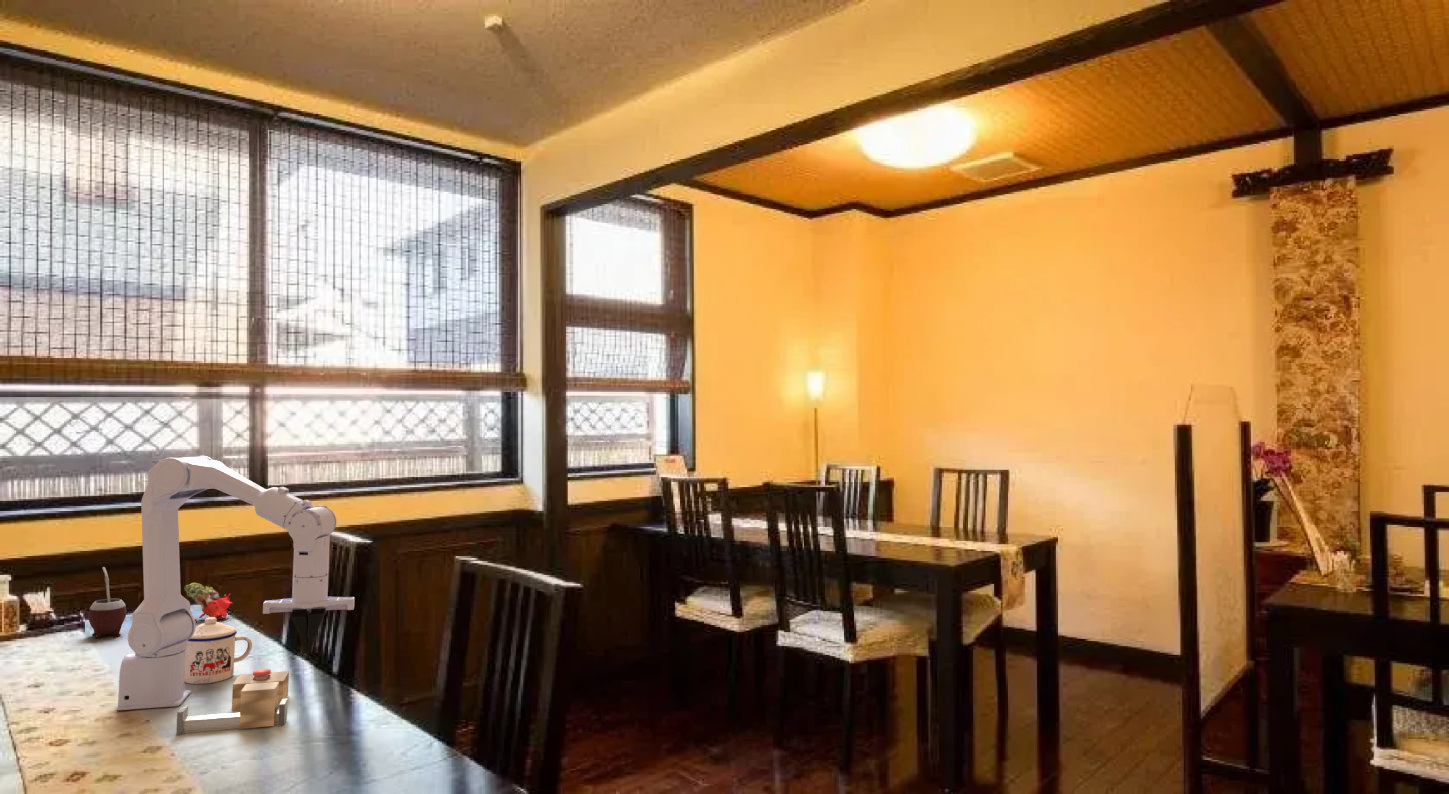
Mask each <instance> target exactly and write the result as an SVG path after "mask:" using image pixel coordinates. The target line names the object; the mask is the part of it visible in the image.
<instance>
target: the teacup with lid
mask: <svg viewBox="0 0 1449 794" xmlns="http://www.w3.org/2000/svg"><path fill="white" fill-rule="evenodd" d="M237 633H238V632H237V629H236V627H234V626H232V625H226V624H224V623H222V622H220V621H217V619H216V618H215V617H209V616H208V617H206V618H205V619H204V622H202V623H200V624H198V625H196V629H195V632H194V634H193V636H192V637H191V638H190V639H189V640H188V643H187V647H186V649H185V673H184V683H186V684H190V685H191V684H193V685H204V684H205V685H206V684H211V683H212V684H213V683H218V682H219V683H220V682H221V681H225V680H228V679H230V678H232V676H234V672H235V663H239V662H241V661H243V660H245V659H246V658H247V657H248V656H249V655H250V653H251V651H252V648H253V642H252V639H250V638H249V637H248V636H246V635H237ZM236 641H245V642H247V643H246V644H247V648H246V650H245V652H244V653H243V654H242V655H240V656H238V657H235V651H236V650H235V648H236V647H235V646H236Z"/></svg>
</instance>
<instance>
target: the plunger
mask: <svg viewBox="0 0 1449 794" xmlns="http://www.w3.org/2000/svg"><path fill="white" fill-rule="evenodd" d="M271 672H272V670H271V669H269V668H259V669H255V670H253V672H252V674H253V676H255V680H263V679H268V675H269V674H270V673H271Z"/></svg>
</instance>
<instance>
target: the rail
mask: <svg viewBox="0 0 1449 794" xmlns="http://www.w3.org/2000/svg"><path fill="white" fill-rule="evenodd" d="M288 699H289V698H288V697H287V698H286V699H282V701H281V703H280V704H279V707H278V710H275V717H274V726H278V727H285V725H286V722H287V720H288V701H289V700H288ZM274 726H273V727H274ZM239 728H240V712H231V713H230V712H229V713H216V714H215V713H214V714H206V715H205V714H204V715H190V716H189V705H183V706H181V707H180V709H179V710H178V711H177V713H176V731H175V732H176V736H177V735H178V736H180V735H183V734H189V733H191V734H192V733H202V732H214V731H228V730H237V729H239Z"/></svg>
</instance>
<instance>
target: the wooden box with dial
mask: <svg viewBox="0 0 1449 794" xmlns="http://www.w3.org/2000/svg"><path fill="white" fill-rule="evenodd" d="M289 680H290V671H288V670H286V671H271V673H270V674H269V675H268V679H263V680H255V676H253V673H243V674H242V673H240V674H239V675H238V677H236V679H235V680H234V682H233V683H232V690H231V691H232V694H231V697H232V698H231V711H238V710H239V711H240V703H241V691H242V689H243V688H244V686H245V685H246V684H252V683H267V682H279V697H278V708H279V704H280V703H281V701H282V699H286V698H288V697H289V682H290V681H289ZM287 696H288V697H287Z"/></svg>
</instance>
